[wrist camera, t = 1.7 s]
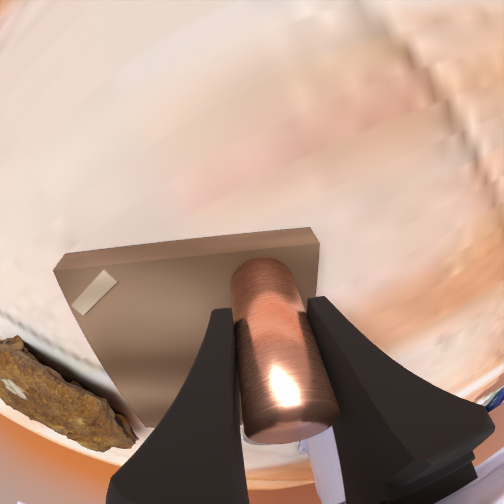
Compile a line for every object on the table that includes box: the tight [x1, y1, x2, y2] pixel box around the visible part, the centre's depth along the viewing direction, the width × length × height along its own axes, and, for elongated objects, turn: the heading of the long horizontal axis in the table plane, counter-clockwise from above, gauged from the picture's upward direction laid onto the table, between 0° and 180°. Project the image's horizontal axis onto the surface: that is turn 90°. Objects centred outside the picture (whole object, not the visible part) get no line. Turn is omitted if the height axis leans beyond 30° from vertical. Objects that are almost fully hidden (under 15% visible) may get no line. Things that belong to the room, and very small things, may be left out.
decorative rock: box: [0, 335, 139, 452], centre depth 17 cm, size 11×4×15 cm
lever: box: [231, 257, 340, 445], centre depth 13 cm, size 14×4×6 cm, turn 3°
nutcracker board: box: [53, 227, 320, 428], centre depth 16 cm, size 15×12×2 cm
